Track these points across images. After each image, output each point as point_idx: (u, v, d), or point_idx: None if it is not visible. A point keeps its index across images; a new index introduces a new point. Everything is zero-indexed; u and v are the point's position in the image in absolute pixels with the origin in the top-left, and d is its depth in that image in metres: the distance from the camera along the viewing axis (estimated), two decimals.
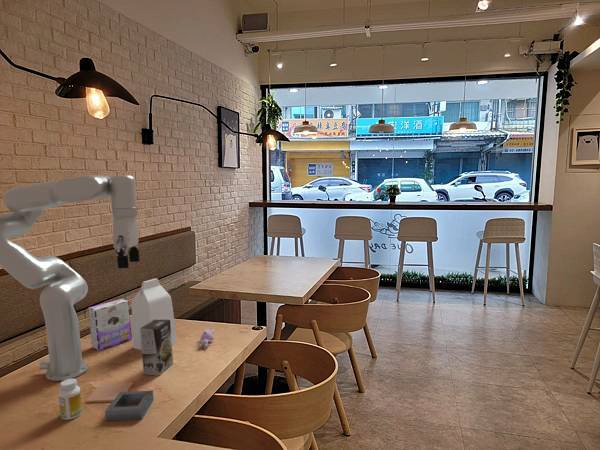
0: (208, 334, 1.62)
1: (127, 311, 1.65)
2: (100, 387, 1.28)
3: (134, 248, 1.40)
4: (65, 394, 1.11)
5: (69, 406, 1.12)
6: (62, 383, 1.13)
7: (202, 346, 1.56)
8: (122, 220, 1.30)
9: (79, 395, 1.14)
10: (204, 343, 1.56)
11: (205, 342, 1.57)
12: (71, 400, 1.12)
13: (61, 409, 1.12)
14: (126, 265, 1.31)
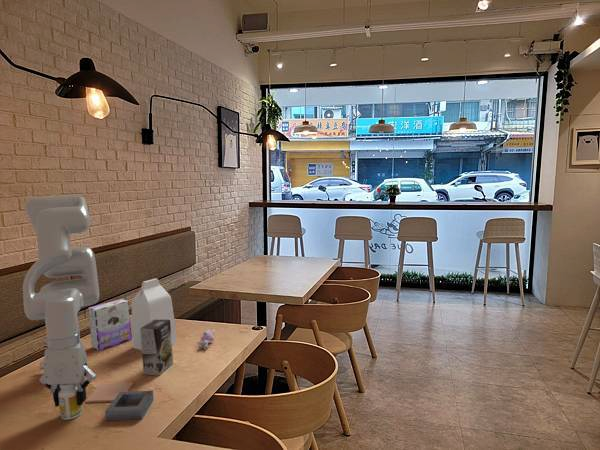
0: (208, 335, 1.61)
1: (127, 311, 1.65)
2: (100, 387, 1.28)
3: (58, 387, 1.14)
4: (65, 394, 1.11)
5: (69, 406, 1.12)
6: None
7: (202, 347, 1.55)
8: (82, 346, 1.13)
9: None
10: (204, 344, 1.56)
11: (205, 343, 1.56)
12: (71, 400, 1.12)
13: (61, 409, 1.12)
14: None
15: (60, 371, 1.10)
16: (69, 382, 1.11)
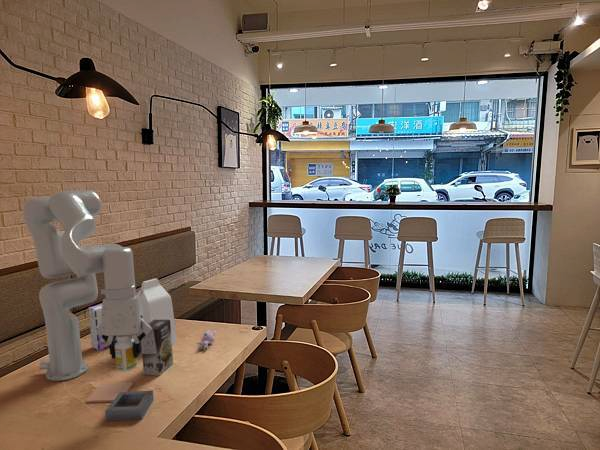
0: (209, 335, 1.60)
1: None
2: (100, 387, 1.28)
3: (114, 340, 1.14)
4: (122, 345, 1.11)
5: (126, 358, 1.12)
6: None
7: (202, 348, 1.55)
8: (138, 298, 1.13)
9: None
10: (204, 345, 1.55)
11: (205, 344, 1.55)
12: (128, 352, 1.12)
13: (118, 361, 1.12)
14: None
15: (118, 322, 1.10)
16: (126, 333, 1.10)
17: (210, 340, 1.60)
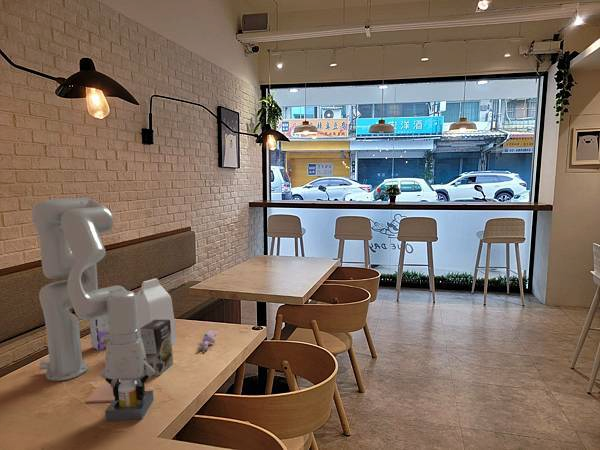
0: (209, 336, 1.59)
1: None
2: (100, 387, 1.28)
3: (117, 382, 1.15)
4: (125, 389, 1.13)
5: (129, 400, 1.13)
6: None
7: (201, 348, 1.54)
8: (142, 341, 1.14)
9: None
10: (204, 345, 1.54)
11: (205, 344, 1.55)
12: (131, 394, 1.13)
13: (121, 403, 1.13)
14: None
15: (121, 366, 1.12)
16: (130, 377, 1.12)
17: (211, 341, 1.59)
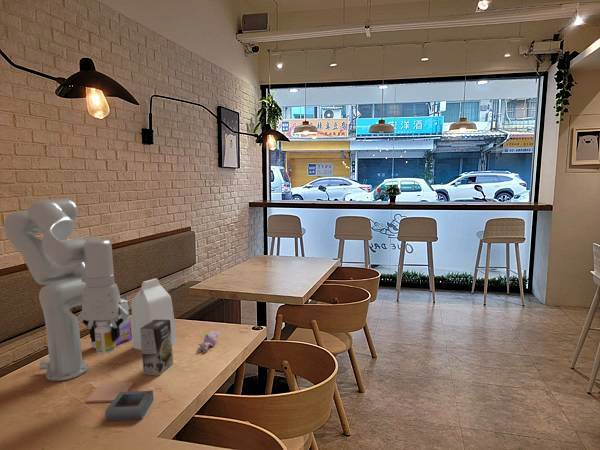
0: (211, 337, 1.58)
1: (127, 311, 1.65)
2: (100, 387, 1.28)
3: (94, 325, 1.23)
4: (101, 330, 1.21)
5: (105, 341, 1.21)
6: None
7: (201, 349, 1.53)
8: (117, 286, 1.23)
9: None
10: (204, 346, 1.53)
11: (205, 345, 1.54)
12: (106, 335, 1.21)
13: (97, 344, 1.21)
14: None
15: (97, 308, 1.20)
16: (105, 318, 1.20)
17: (212, 342, 1.58)
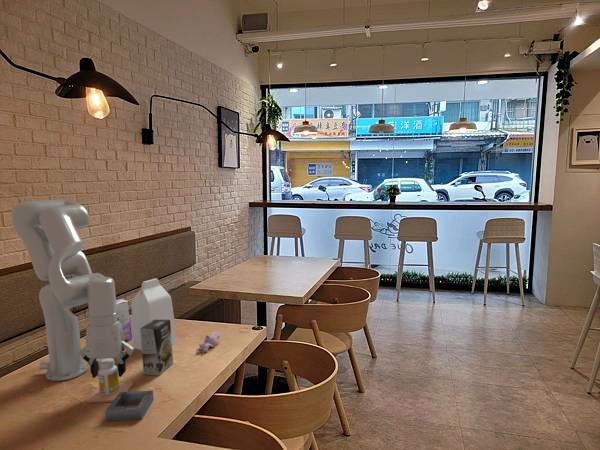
0: (211, 338, 1.58)
1: (127, 311, 1.65)
2: None
3: (95, 360, 1.25)
4: (104, 372, 1.22)
5: (108, 383, 1.23)
6: (101, 362, 1.24)
7: (201, 350, 1.53)
8: (120, 323, 1.24)
9: (116, 373, 1.25)
10: (203, 347, 1.53)
11: (205, 346, 1.53)
12: (110, 377, 1.23)
13: (101, 385, 1.23)
14: None
15: (101, 346, 1.21)
16: (109, 356, 1.21)
17: (212, 343, 1.57)
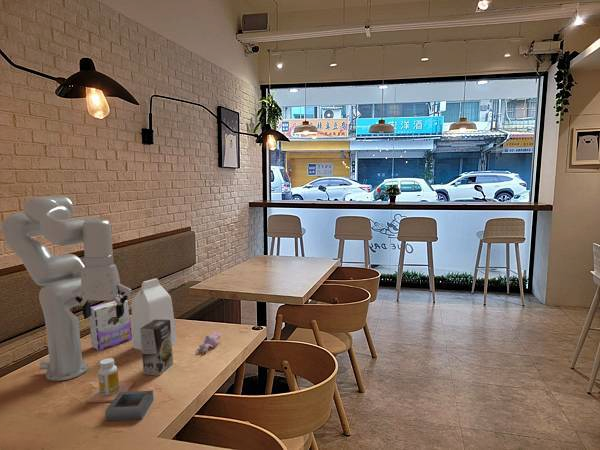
0: (211, 338, 1.57)
1: (127, 311, 1.65)
2: None
3: (87, 302, 1.24)
4: (104, 372, 1.22)
5: (108, 383, 1.23)
6: (101, 362, 1.24)
7: (201, 350, 1.52)
8: (115, 266, 1.23)
9: (116, 373, 1.25)
10: (203, 348, 1.52)
11: (204, 347, 1.52)
12: (110, 377, 1.23)
13: (101, 385, 1.23)
14: None
15: (96, 288, 1.20)
16: (104, 298, 1.20)
17: (212, 343, 1.57)
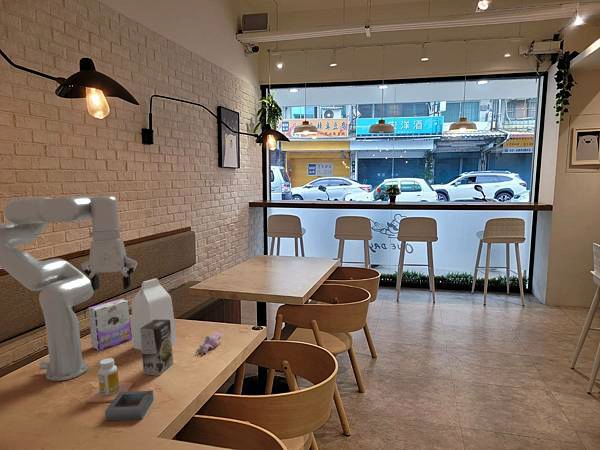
0: (212, 339, 1.57)
1: (127, 311, 1.65)
2: None
3: (95, 274, 1.31)
4: (104, 372, 1.22)
5: (108, 383, 1.23)
6: (101, 362, 1.24)
7: (201, 351, 1.52)
8: (122, 240, 1.30)
9: (116, 373, 1.25)
10: (203, 348, 1.52)
11: (204, 347, 1.52)
12: (110, 377, 1.23)
13: (101, 385, 1.23)
14: None
15: (104, 260, 1.27)
16: (111, 270, 1.27)
17: (213, 344, 1.56)
